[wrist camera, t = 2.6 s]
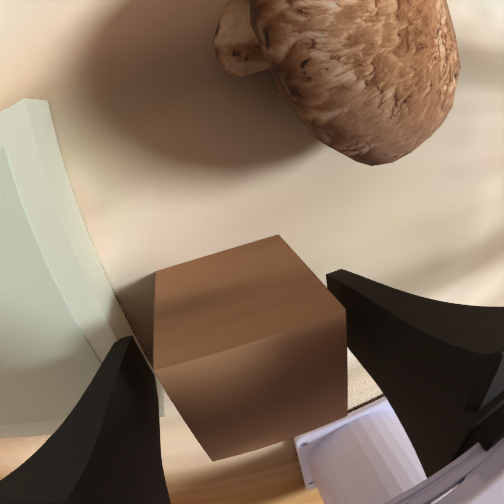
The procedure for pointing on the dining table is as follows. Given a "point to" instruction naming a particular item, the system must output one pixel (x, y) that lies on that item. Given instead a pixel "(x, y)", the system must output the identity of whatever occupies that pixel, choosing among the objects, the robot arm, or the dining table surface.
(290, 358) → the walnut block
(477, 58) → the dining table surface
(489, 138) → the dining table surface
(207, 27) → the dining table surface
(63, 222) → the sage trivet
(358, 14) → the mushroom
